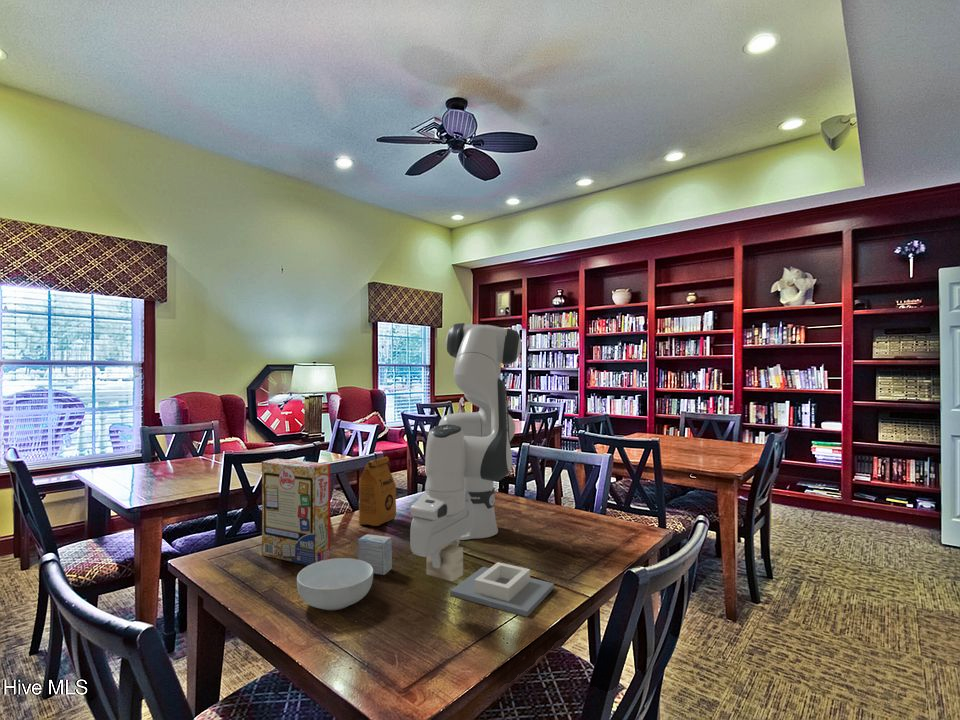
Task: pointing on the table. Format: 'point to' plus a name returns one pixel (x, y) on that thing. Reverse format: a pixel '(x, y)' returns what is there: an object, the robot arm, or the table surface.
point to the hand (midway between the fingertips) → (444, 562)
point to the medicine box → (376, 552)
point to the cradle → (504, 589)
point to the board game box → (296, 510)
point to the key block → (447, 563)
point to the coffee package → (377, 494)
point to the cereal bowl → (334, 583)
